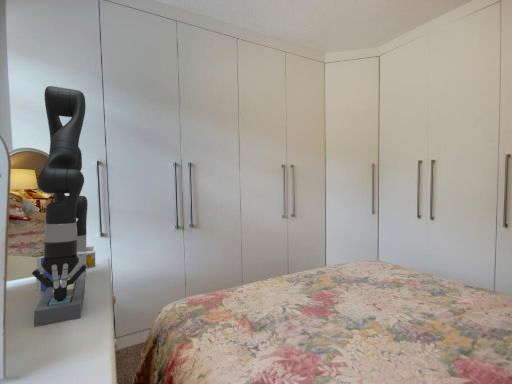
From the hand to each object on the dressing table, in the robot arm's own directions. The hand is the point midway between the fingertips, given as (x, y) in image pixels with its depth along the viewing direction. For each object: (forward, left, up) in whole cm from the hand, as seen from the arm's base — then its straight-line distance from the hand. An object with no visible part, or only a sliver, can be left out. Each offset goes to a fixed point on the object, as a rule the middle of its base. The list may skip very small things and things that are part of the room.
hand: (60, 300), depth 76 cm
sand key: (-7, 0, -2) cm, 7 cm away
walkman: (-25, -6, -4) cm, 26 cm away
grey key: (-14, 0, -2) cm, 14 cm away
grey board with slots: (-7, 0, -4) cm, 8 cm away
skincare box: (-27, +2, -4) cm, 28 cm away
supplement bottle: (-53, +5, -4) cm, 54 cm away
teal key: (0, 0, -4) cm, 4 cm away
